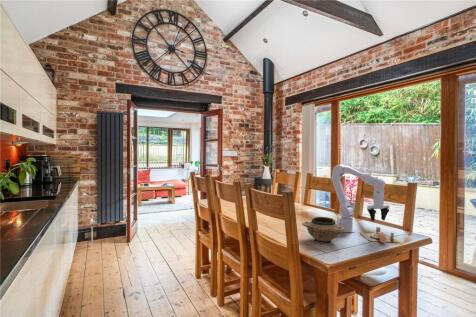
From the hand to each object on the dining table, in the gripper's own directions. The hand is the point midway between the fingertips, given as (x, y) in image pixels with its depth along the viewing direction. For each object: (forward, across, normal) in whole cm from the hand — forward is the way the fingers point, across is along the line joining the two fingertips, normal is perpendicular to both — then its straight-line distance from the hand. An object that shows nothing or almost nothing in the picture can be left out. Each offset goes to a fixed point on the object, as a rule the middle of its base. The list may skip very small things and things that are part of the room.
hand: (377, 220), depth 170 cm
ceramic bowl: (+10, -38, -1) cm, 40 cm away
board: (+10, -2, -2) cm, 11 cm away
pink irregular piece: (+9, -3, -5) cm, 11 cm away
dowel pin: (+10, +4, -8) cm, 13 cm away
